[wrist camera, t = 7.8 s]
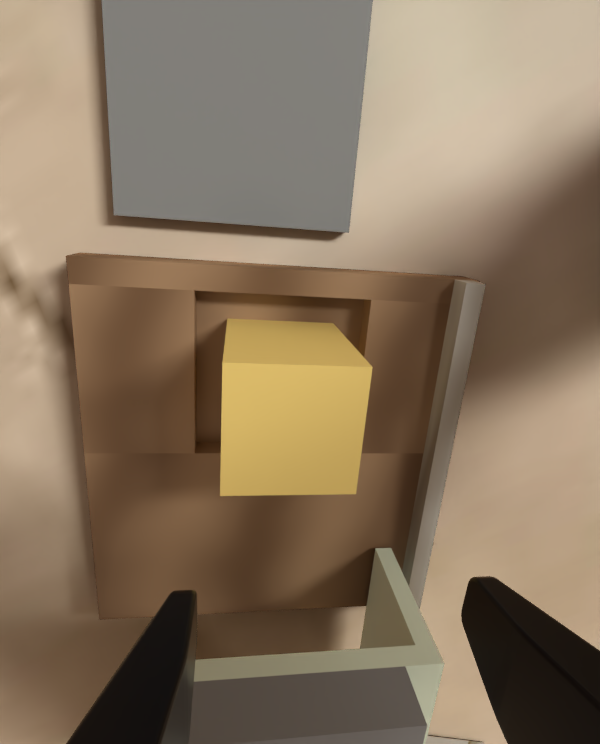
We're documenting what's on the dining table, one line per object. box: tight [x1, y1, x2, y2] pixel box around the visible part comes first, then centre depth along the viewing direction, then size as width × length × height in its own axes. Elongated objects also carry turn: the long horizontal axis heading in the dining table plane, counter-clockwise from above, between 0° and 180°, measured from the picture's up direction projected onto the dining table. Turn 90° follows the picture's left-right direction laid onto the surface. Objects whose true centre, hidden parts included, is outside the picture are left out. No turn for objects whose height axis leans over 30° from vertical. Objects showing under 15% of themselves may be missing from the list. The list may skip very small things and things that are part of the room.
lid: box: [189, 548, 444, 744], centre depth 19 cm, size 11×9×8 cm
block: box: [220, 319, 373, 496], centre depth 17 cm, size 4×4×6 cm
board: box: [66, 253, 486, 619], centre depth 20 cm, size 16×17×2 cm
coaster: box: [102, 0, 373, 233], centre depth 16 cm, size 9×9×1 cm
